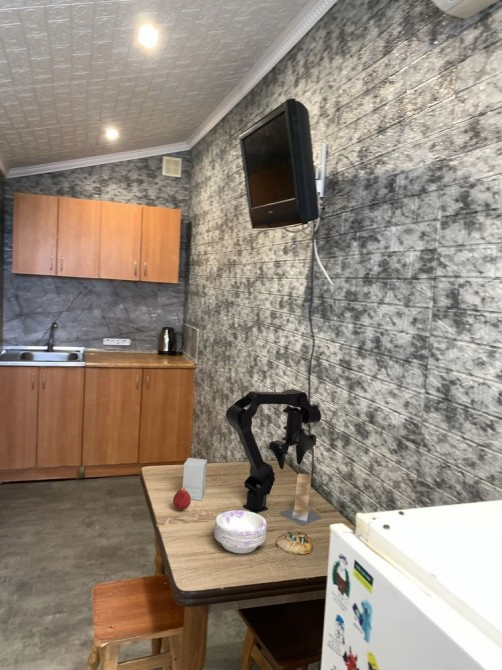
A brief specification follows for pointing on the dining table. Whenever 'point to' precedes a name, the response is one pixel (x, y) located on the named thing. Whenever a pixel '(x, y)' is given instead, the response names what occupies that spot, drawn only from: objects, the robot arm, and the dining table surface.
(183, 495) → the red pointed oval piece
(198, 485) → the supplement box
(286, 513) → the steel plate
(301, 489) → the block
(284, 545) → the bread roll
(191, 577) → the dining table surface
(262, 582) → the dining table surface
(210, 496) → the dining table surface
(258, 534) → the paper bowls
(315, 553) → the dining table surface
